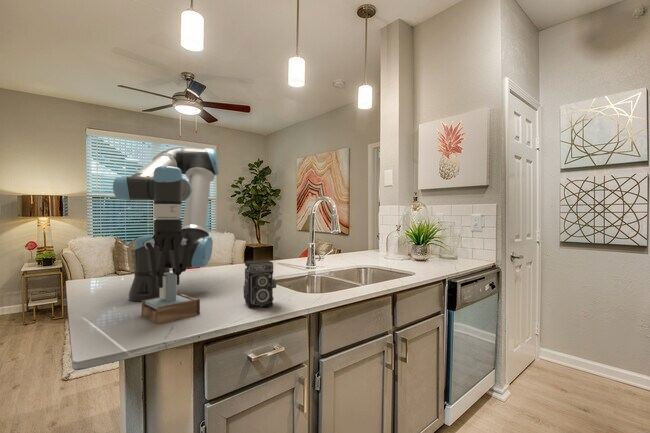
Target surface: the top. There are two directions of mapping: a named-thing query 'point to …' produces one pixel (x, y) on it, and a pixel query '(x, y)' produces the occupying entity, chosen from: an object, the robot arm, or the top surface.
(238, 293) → the top surface
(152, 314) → the walnut box
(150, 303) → the lid plate
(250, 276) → the camera
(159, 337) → the top surface
